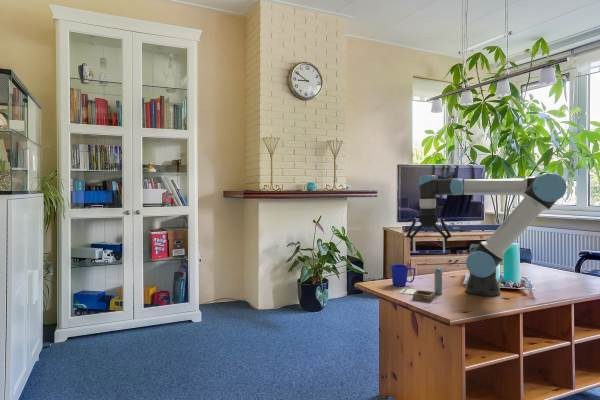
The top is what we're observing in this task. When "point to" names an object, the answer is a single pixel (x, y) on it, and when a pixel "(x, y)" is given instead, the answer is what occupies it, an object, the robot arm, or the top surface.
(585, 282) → the top surface
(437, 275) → the marker
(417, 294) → the tray
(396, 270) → the mug
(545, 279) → the top surface
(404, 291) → the paper
